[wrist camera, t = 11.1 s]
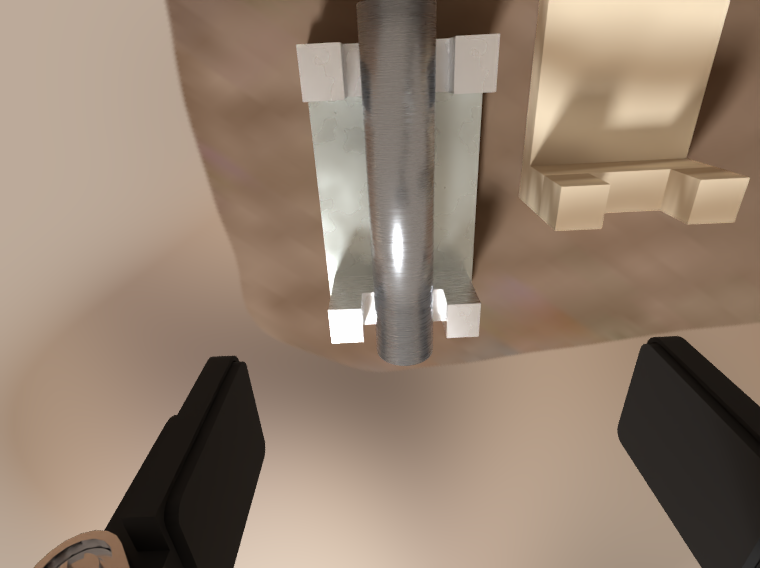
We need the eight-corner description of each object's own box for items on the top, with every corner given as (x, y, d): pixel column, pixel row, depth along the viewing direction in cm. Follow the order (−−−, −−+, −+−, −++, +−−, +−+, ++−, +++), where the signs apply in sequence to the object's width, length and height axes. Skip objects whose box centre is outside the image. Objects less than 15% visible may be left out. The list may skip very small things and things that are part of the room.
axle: (358, 8, 21) (353, -1, 18) (432, 4, 21) (440, -6, 17) (377, 333, 30) (376, 366, 26) (430, 331, 29) (435, 365, 26)
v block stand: (305, 49, 25) (287, 44, 19) (479, 39, 24) (509, 33, 19) (333, 296, 32) (325, 343, 27) (466, 290, 32) (484, 336, 27)
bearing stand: (552, -126, 21) (618, -196, 15) (746, -137, 21) (886, -212, 15) (518, 197, 29) (554, 231, 23) (661, 190, 29) (734, 222, 23)
